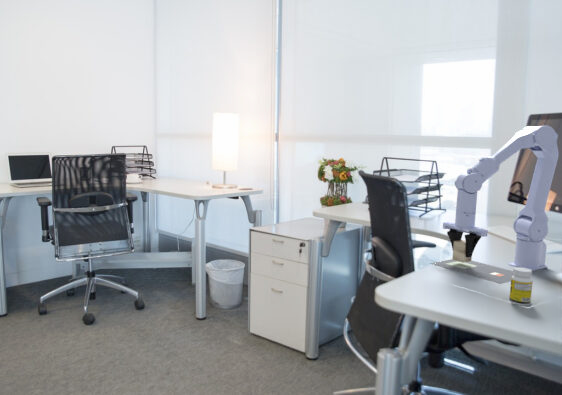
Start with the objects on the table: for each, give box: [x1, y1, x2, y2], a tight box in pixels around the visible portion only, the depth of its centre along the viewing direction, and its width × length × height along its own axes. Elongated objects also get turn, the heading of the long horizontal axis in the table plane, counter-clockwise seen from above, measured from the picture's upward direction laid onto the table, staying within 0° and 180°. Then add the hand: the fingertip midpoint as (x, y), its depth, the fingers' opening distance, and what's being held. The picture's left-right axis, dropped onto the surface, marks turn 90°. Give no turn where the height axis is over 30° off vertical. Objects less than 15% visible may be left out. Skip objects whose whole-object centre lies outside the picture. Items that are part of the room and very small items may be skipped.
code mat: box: [429, 258, 514, 285], centre depth 149 cm, size 16×24×1 cm, turn 35°
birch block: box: [451, 239, 473, 263], centre depth 153 cm, size 4×4×6 cm
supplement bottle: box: [509, 267, 534, 307], centre depth 119 cm, size 5×5×8 cm
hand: (462, 255), depth 153 cm, fingers closed on birch block, 4 cm apart
